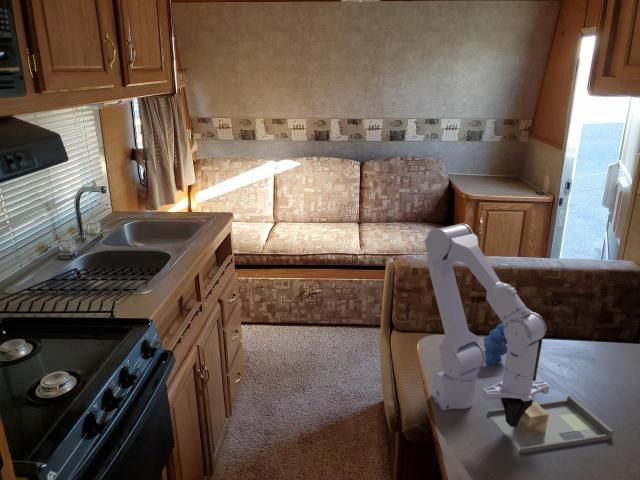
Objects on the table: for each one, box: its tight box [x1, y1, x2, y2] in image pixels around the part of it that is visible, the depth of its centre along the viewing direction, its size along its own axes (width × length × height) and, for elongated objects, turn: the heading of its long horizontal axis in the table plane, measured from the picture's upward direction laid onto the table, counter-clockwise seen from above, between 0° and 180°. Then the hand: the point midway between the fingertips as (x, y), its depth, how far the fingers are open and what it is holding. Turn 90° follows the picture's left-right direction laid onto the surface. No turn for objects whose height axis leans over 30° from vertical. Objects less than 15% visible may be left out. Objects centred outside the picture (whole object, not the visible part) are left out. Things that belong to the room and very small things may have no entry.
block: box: [517, 401, 549, 437], centre depth 107 cm, size 4×4×5 cm
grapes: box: [483, 322, 507, 367], centre depth 135 cm, size 12×7×12 cm, turn 128°
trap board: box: [487, 394, 615, 454], centre depth 108 cm, size 22×13×4 cm, turn 103°
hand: (511, 423), depth 106 cm, fingers closed
